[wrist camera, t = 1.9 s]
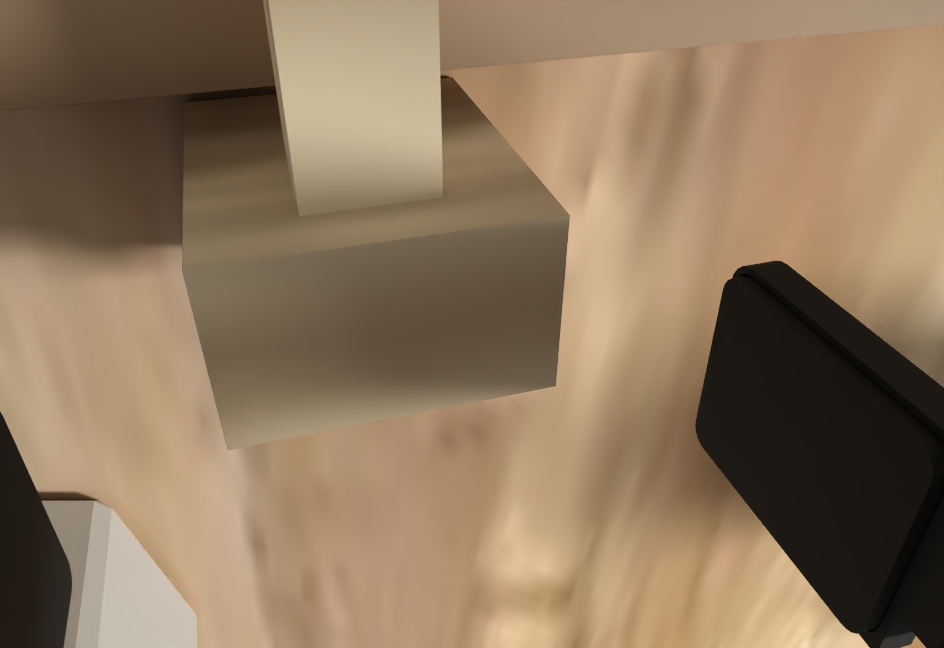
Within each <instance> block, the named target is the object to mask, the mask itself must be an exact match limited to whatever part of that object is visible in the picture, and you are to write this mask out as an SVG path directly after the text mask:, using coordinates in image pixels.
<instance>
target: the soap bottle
mask: <svg viewBox="0 0 944 648" xmlns="http://www.w3.org/2000/svg"><path fill="white" fill-rule="evenodd" d="M41 501H42V503H43V506H44V508H45V510H46V512H47V514H48V517H49V519H50V521H51V523H52V525H53V528H54V530H55V532H56V534H57V536H58V539H59V541H60V543H61V545H62V547H63V550H64V552H65V554H66V556H67V558H68V561H69V564H70V568H71V575H72V594H71V601H70V608H69V615H68V621H67V628H66V635H65V642H64V648H197V624H196V614H195V613H194V612H193V610H192V609H191V608H190V606H189V605H188V604H187V603H186V601H185V600H184V599H183V598H182V596H181V595H180V594H179V593H178V591H177V590H176V589H175V587H174V586H173V585H172V584H171V582H170V581H169V580H168V579H167V577H166V576H165V575H164V574H163V572H162V571H161V570H160V568H159V567H158V566H157V565H156V563H155V562H154V561H153V560H152V558H151V557H150V556H149V555H148V553H147V552H146V551H145V549H144V548H143V547H142V546H141V544H140V543H139V542H138V541H137V539H136V538H135V537H134V536H133V534H132V533H131V532H130V531H129V529H128V528H127V527H126V525H125V524H124V523H123V522H122V520H121V519H120V518H119V517H118V515H117V514H116V513H115V512H114V510H113V509H112V508H111V507H109V506H107V505H105V504H104V503H102V502H100V501H87V500H41Z"/></svg>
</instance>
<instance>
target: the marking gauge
mask: <svg viewBox="0 0 944 648" xmlns="http://www.w3.org/2000/svg"><path fill="white" fill-rule="evenodd" d="M263 4H264V11H265V18H266V24H267V31H268V38H269V45H270V52H271V59H272V65H273V72H274V79H275V86H276V93H277V94H269V95H258V96H248V97H237V98H226V99H216V100H205V101H195V102H184V157H183V247H182V271H183V275H184V279H185V283H186V287H187V291H188V295H189V299H190V303H191V307H192V311H193V315H194V319H195V323H196V327H197V331H198V335H199V339H200V343H201V347H202V351H203V355H204V359H205V363H206V367H207V371H208V375H209V379H210V383H211V387H212V390H213V394H214V398H215V402H216V406H217V410H218V414H219V418H220V422H221V426H222V430H223V434H224V438H225V442H226V446H227V450H232V449H237V448H242V447H247V446H252V445H257V444H262V443H267V442H272V441H278V440H283V439H288V438H293V437H298V436H303V435H308V434H313V433H318V432H324V431H329V430H334V429H339V428H344V427H349V426H354V425H359V424H364V423H369V422H375V421H380V420H385V419H390V418H395V417H400V416H405V415H410V414H415V413H421V412H426V411H431V410H436V409H441V408H446V407H451V406H456V405H461V404H466V403H472V402H477V401H482V400H487V399H492V398H497V397H502V396H507V395H512V394H518V393H523V392H528V391H533V390H538V389H543V388H548V387H553V386H556V376H557V364H558V351H559V339H560V327H561V315H562V303H563V290H564V278H565V266H566V254H567V242H568V229H569V217H570V215H569V214H568V213H567V211H566V210H565V209H564V208H563V207H562V206H561V204H560V203H559V202H558V201H557V200H556V199H555V197H554V196H553V195H552V194H551V193H550V192H549V190H548V189H547V188H546V187H545V186H544V184H543V183H542V182H541V181H540V180H539V179H538V177H537V176H536V175H535V174H534V173H533V172H532V170H531V169H530V168H529V167H528V166H527V165H526V163H525V162H524V161H523V160H522V159H521V157H520V156H519V155H518V154H517V153H516V152H515V150H514V149H513V148H512V147H511V146H510V145H509V143H508V142H507V141H506V140H505V139H504V138H503V136H502V135H501V134H500V133H499V132H498V130H497V129H496V128H495V127H494V126H493V125H492V123H491V122H490V121H489V120H488V119H487V118H486V116H485V115H484V114H483V113H482V112H481V111H480V109H479V108H478V107H477V106H476V105H475V103H474V102H473V101H472V100H471V99H470V98H469V96H468V95H467V94H466V93H465V92H464V91H463V89H462V88H461V87H460V86H459V85H458V83H457V82H456V81H455V80H454V79H453V78H452V77H448V78H440V39H439V0H263Z"/></svg>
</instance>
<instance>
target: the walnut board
mask: <svg viewBox="0 0 944 648" xmlns="http://www.w3.org/2000/svg"><path fill="white" fill-rule="evenodd" d="M940 24H944V0H439V39H440V71H441V70H452V69H462V68H473V67H484V66H495V65H506V64H517V63H527V62H538V61H549V60H560V59H571V58H582V57H593V56H603V55H614V54H625V53H636V52H647V51H658V50H668V49H679V48H690V47H701V46H712V45H723V44H734V43H744V42H755V41H766V40H777V39H788V38H799V37H809V36H820V35H831V34H842V33H853V32H864V31H875V30H885V29H896V28H907V27H918V26H929V25H940ZM267 86H275V79H274V72H273V65H272V59H271V52H270V45H269V38H268V31H267V24H266V18H265V11H264V4H263V0H0V111H7V110H18V109H29V108H39V107H50V106H61V105H72V104H83V103H94V102H104V101H115V100H126V99H137V98H148V97H159V96H170V95H180V94H191V93H202V92H213V91H224V90H235V89H245V88H256V87H267Z"/></svg>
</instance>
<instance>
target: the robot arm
mask: <svg viewBox="0 0 944 648" xmlns="http://www.w3.org/2000/svg"><path fill="white" fill-rule="evenodd" d="M696 433H697V437H698V439H699V442H700V444H701V445H702V447H703V448H704V450H705V451H706V452H707V454H708V455H709V456H710V457H711V459H712V460H713V461H714V462H715V464H716V465H717V466H718V468H719V469H720V470H721V471H722V473H723V474H724V475H725V476H726V478H727V479H728V480H729V482H730V483H731V484H732V485H733V487H734V488H735V489H736V490H737V492H738V493H739V494H740V496H741V497H742V498H743V499H744V501H745V502H746V503H747V504H748V506H749V507H750V508H751V510H752V511H753V512H754V513H755V515H756V516H757V517H758V518H759V520H760V521H761V522H762V524H763V525H764V526H765V527H766V529H767V530H768V531H769V532H770V534H771V535H772V536H773V538H774V539H775V540H776V541H777V543H778V544H779V545H780V546H781V548H782V549H783V550H784V552H785V553H786V554H787V555H788V557H789V558H790V559H791V560H792V562H793V563H794V564H795V566H796V567H797V568H798V569H799V571H800V572H801V573H802V574H803V576H804V577H805V578H806V580H807V581H808V582H809V583H810V585H811V586H812V587H813V588H814V590H815V591H816V592H817V594H818V595H819V596H820V597H821V599H822V600H823V601H824V602H825V604H826V605H827V606H828V608H829V609H830V610H831V611H832V613H833V614H834V615H835V616H836V618H837V619H838V620H839V622H840V623H841V624H842V625H843V626H844V627H845V628H846V629H847V630H849V631H850V632H852V633H856V634H857V633H859V635H860V636H861V637H862V638H863V640H864V641H865V642H866V643H867V645H868V646H869V647H870V648H901V647H904V646H907V645H910V644H912V642H913V640H914V638H915V636H917V637H918V639H919V640H920V641H921V642H922V643H923V644H924V645H925V647H926V648H944V388H943V387H942V386H941V385H939V384H938V383H937V382H936V381H934V380H933V379H932V378H931V377H929V376H928V375H927V374H925V373H924V372H923V371H922V370H920V369H919V368H918V367H917V366H915V365H914V364H913V363H911V362H910V361H909V360H908V359H906V358H905V357H904V356H903V355H901V354H900V353H899V352H898V351H896V350H895V349H894V348H892V347H891V346H890V345H889V344H887V343H886V342H885V341H884V340H882V339H881V338H880V337H878V336H877V335H876V334H875V333H873V332H872V331H871V330H870V329H868V328H867V327H866V326H865V325H863V324H862V323H861V322H859V321H858V320H857V319H856V318H854V317H853V316H852V315H851V314H849V313H848V312H847V311H845V310H844V309H843V308H842V307H840V306H839V305H838V304H837V303H835V302H834V301H833V300H832V299H830V298H829V297H828V296H826V295H825V294H824V293H823V292H821V291H820V290H819V289H818V288H816V287H815V286H814V285H812V284H811V283H810V282H809V281H807V280H806V279H805V278H804V277H802V276H801V275H800V274H799V273H797V272H796V271H795V270H793V269H792V268H791V267H790V266H788V265H787V264H785V263H783V262H782V261H772V262H766V263H760V264H754V265H748V266H742V267H740V268H739V269H737V270H736V272H735V273H734V275H733V278H732V279H730V280H728V281H727V282H726V283H725V285H724V288H723V292H722V297H721V302H720V307H719V312H718V317H717V321H716V326H715V331H714V336H713V341H712V346H711V350H710V355H709V360H708V365H707V370H706V375H705V379H704V384H703V389H702V394H701V399H700V404H699V408H698V413H697V418H696ZM71 594H72V575H71V568H70V564H69V561H68V558H67V556H66V554H65V552H64V550H63V547H62V545H61V543H60V541H59V539H58V536H57V534H56V532H55V530H54V528H53V525H52V523H51V521H50V519H49V517H48V514H47V512H46V510H45V508H44V506H43V503H42V501H41V499H40V497H39V495H38V492H37V490H36V488H35V486H34V484H33V481H32V479H31V477H30V475H29V472H28V470H27V468H26V466H25V464H24V461H23V459H22V457H21V455H20V453H19V450H18V448H17V446H16V444H15V442H14V439H13V437H12V435H11V433H10V431H9V428H8V426H7V424H6V422H5V420H4V417H3V416H2V414H1V412H0V648H64V642H65V635H66V628H67V621H68V615H69V608H70V601H71Z"/></svg>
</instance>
